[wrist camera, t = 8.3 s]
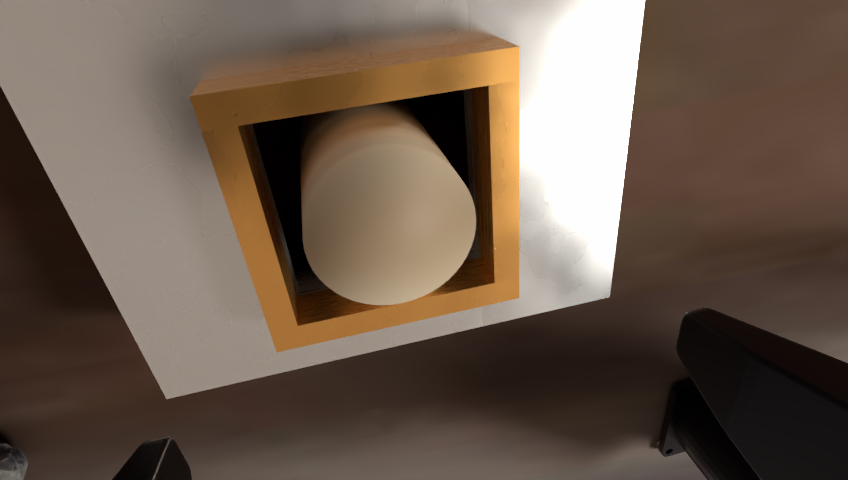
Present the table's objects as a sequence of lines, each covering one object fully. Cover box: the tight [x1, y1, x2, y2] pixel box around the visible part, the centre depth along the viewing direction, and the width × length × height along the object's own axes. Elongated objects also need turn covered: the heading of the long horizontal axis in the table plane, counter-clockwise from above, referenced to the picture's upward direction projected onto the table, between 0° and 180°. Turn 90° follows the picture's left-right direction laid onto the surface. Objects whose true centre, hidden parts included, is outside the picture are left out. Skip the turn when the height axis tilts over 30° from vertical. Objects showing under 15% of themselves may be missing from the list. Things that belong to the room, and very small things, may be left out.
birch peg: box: [299, 99, 476, 305], centre depth 16 cm, size 4×4×7 cm
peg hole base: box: [0, 0, 645, 399], centre depth 16 cm, size 12×16×6 cm
